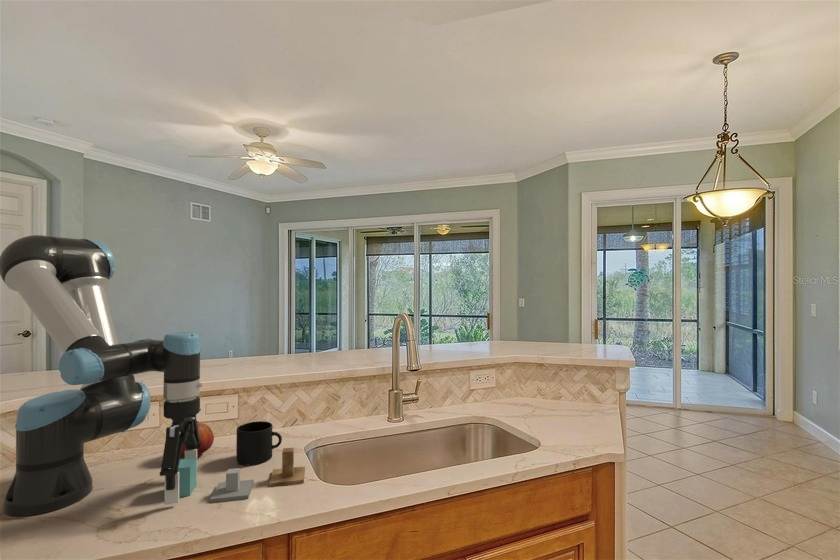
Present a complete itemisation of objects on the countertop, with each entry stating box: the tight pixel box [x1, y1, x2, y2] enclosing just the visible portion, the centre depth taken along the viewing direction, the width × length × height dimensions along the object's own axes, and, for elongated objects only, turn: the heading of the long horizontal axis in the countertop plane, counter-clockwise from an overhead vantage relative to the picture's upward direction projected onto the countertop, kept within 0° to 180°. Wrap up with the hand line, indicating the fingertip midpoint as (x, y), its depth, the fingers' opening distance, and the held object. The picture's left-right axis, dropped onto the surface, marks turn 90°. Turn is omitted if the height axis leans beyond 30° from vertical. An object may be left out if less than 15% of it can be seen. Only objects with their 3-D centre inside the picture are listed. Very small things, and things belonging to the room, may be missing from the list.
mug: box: [235, 420, 283, 466], centre depth 119 cm, size 9×12×9 cm
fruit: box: [173, 420, 215, 459], centre depth 120 cm, size 11×10×10 cm
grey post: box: [209, 467, 255, 504], centre depth 99 cm, size 8×8×5 cm
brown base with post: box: [268, 447, 306, 488], centre depth 107 cm, size 8×8×7 cm
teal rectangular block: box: [169, 457, 198, 498], centre depth 99 cm, size 5×5×7 cm
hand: (182, 488), depth 99 cm, fingers open, 13 cm apart
